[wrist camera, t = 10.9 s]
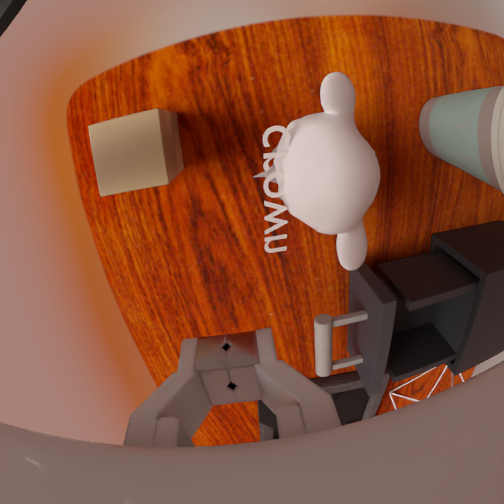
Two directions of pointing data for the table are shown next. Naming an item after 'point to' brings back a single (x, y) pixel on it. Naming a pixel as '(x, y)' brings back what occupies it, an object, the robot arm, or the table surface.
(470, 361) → the dark grey box
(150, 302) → the table surface
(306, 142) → the figurine
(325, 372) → the open drawer with handle
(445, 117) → the coffee cup
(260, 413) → the picture frame
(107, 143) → the block
